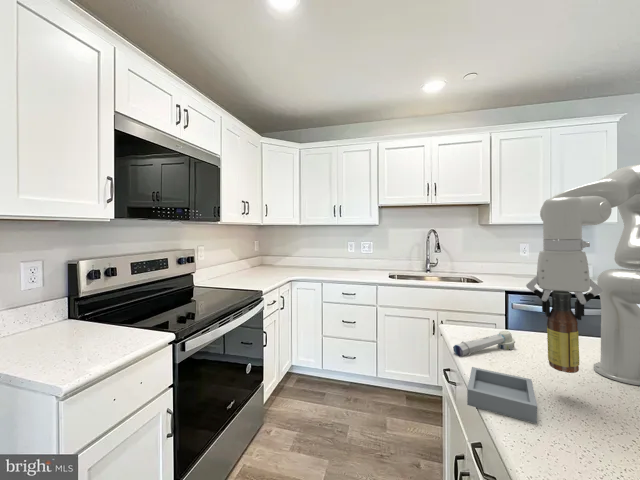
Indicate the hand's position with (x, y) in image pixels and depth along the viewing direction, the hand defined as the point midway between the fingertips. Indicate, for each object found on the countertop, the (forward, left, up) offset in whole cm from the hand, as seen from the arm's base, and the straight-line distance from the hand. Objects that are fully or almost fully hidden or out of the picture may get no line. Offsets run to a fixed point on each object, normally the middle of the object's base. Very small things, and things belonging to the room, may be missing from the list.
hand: (562, 316), depth 75 cm
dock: (+13, +9, -21) cm, 27 cm away
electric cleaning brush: (+18, -25, -22) cm, 37 cm away
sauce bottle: (0, 0, -14) cm, 14 cm away
